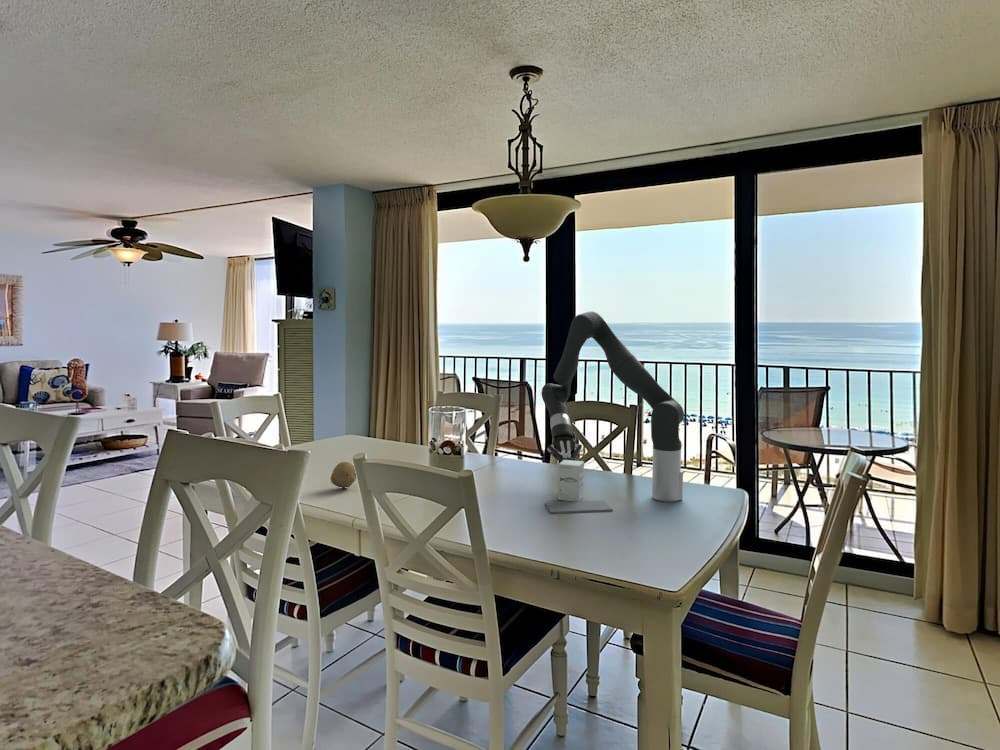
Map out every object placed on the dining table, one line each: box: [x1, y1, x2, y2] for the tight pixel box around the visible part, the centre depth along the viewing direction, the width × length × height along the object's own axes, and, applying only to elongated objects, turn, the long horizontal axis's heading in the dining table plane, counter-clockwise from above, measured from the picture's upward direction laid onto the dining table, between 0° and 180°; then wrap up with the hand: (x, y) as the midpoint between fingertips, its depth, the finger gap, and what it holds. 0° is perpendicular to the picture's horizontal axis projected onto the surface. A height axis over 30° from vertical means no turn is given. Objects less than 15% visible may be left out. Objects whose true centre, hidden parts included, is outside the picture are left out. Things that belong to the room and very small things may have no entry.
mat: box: [544, 499, 614, 515], centre depth 195 cm, size 20×10×1 cm, turn 96°
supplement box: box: [557, 460, 585, 502], centre depth 205 cm, size 7×7×13 cm
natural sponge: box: [330, 461, 357, 488], centre depth 218 cm, size 9×9×10 cm
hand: (568, 469), depth 210 cm, fingers closed
